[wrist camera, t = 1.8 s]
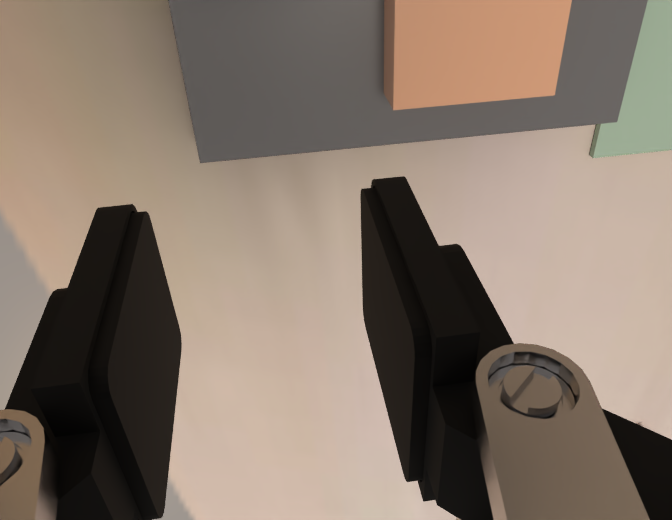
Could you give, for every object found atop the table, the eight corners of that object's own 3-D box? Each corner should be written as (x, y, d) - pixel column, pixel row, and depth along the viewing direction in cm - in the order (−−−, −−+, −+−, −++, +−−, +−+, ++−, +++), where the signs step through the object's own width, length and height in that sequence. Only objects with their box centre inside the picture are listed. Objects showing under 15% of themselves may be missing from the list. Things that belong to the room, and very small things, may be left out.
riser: (146, -160, 22) (137, -159, 20) (656, -187, 24) (695, -188, 22) (202, 140, 29) (200, 163, 27) (592, 103, 31) (617, 122, 29)
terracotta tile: (384, -89, 22) (396, -83, 21) (564, -101, 23) (588, -95, 21) (383, 93, 26) (393, 110, 25) (535, 79, 27) (554, 95, 25)
